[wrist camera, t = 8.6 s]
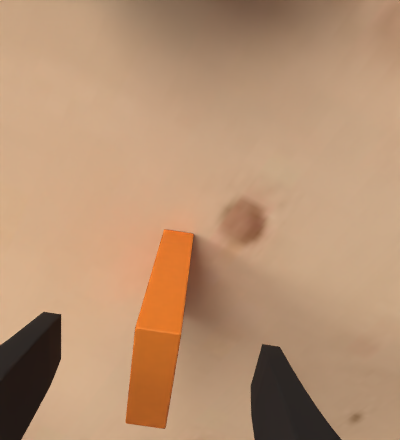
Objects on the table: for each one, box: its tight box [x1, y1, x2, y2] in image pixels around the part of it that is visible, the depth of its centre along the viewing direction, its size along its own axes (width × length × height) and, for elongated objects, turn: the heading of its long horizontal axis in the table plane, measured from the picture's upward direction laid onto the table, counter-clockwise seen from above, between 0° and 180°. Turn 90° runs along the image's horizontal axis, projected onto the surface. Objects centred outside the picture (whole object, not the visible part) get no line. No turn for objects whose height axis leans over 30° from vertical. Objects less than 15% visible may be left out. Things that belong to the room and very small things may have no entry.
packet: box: [126, 230, 194, 429], centre depth 16 cm, size 1×4×7 cm, turn 171°
